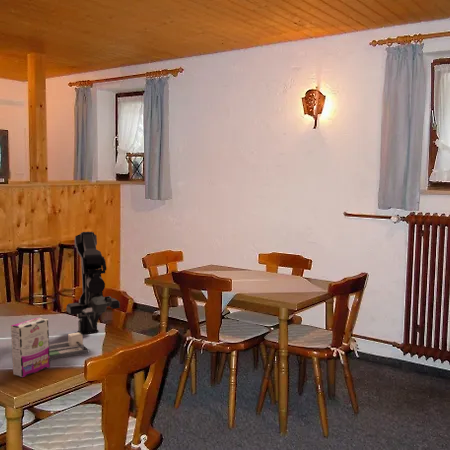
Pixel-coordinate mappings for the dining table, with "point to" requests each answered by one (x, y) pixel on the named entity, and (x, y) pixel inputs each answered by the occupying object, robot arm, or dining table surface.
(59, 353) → the bench gauge
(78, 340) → the cube with stick handle
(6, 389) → the dining table surface
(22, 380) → the dining table surface
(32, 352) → the candy bar box
